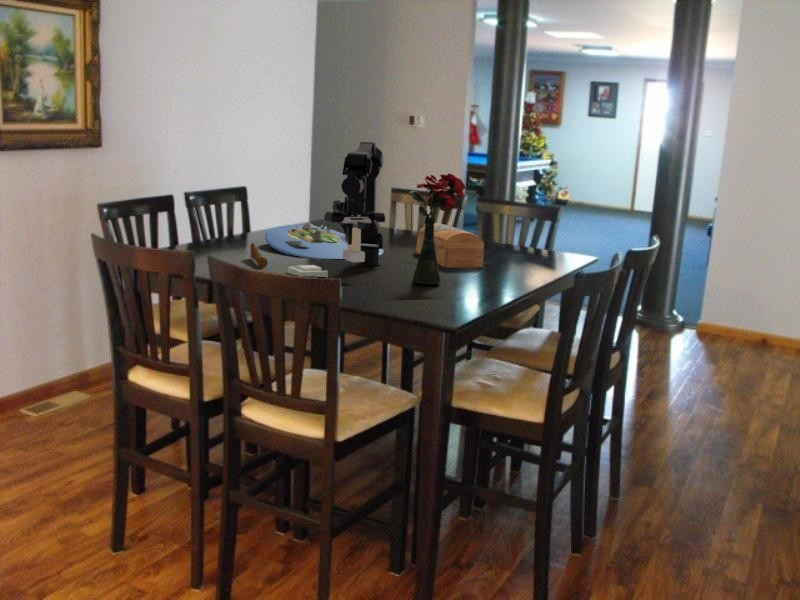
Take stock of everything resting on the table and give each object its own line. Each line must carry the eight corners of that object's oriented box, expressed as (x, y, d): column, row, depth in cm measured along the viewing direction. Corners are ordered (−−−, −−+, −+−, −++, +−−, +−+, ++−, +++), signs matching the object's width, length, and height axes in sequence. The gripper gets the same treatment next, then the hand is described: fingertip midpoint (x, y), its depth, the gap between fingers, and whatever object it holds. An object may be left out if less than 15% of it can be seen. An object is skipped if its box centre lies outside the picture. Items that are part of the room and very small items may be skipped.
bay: (313, 271, 271) (313, 265, 270) (327, 277, 261) (327, 271, 261) (287, 272, 266) (288, 266, 266) (301, 278, 257) (302, 272, 256)
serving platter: (400, 270, 311) (404, 239, 307) (298, 276, 287) (302, 242, 283) (342, 238, 345) (345, 209, 341) (247, 241, 321) (249, 210, 317)
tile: (314, 274, 268) (314, 265, 268) (321, 277, 263) (321, 267, 263) (297, 274, 266) (297, 265, 265) (304, 277, 260) (304, 268, 260)
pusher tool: (354, 258, 259) (354, 226, 257) (364, 261, 254) (365, 229, 251) (342, 258, 257) (343, 227, 255) (353, 262, 252) (353, 230, 249)
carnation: (395, 277, 270) (402, 170, 263) (447, 277, 276) (454, 172, 269) (412, 285, 255) (419, 172, 248) (466, 285, 261) (474, 175, 255)
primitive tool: (251, 257, 289) (242, 256, 287) (253, 242, 287) (243, 241, 286) (267, 268, 272) (257, 268, 270) (269, 252, 271) (259, 252, 269)
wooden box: (412, 257, 319) (415, 222, 316) (452, 258, 324) (454, 223, 322) (440, 270, 291) (443, 231, 289) (482, 270, 296) (485, 232, 294)
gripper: (370, 192, 263) (367, 240, 266) (317, 191, 253) (315, 241, 256) (387, 195, 254) (384, 245, 257) (333, 194, 244) (331, 246, 247)
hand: (353, 244), depth 254 cm, fingers closed on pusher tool, 3 cm apart
